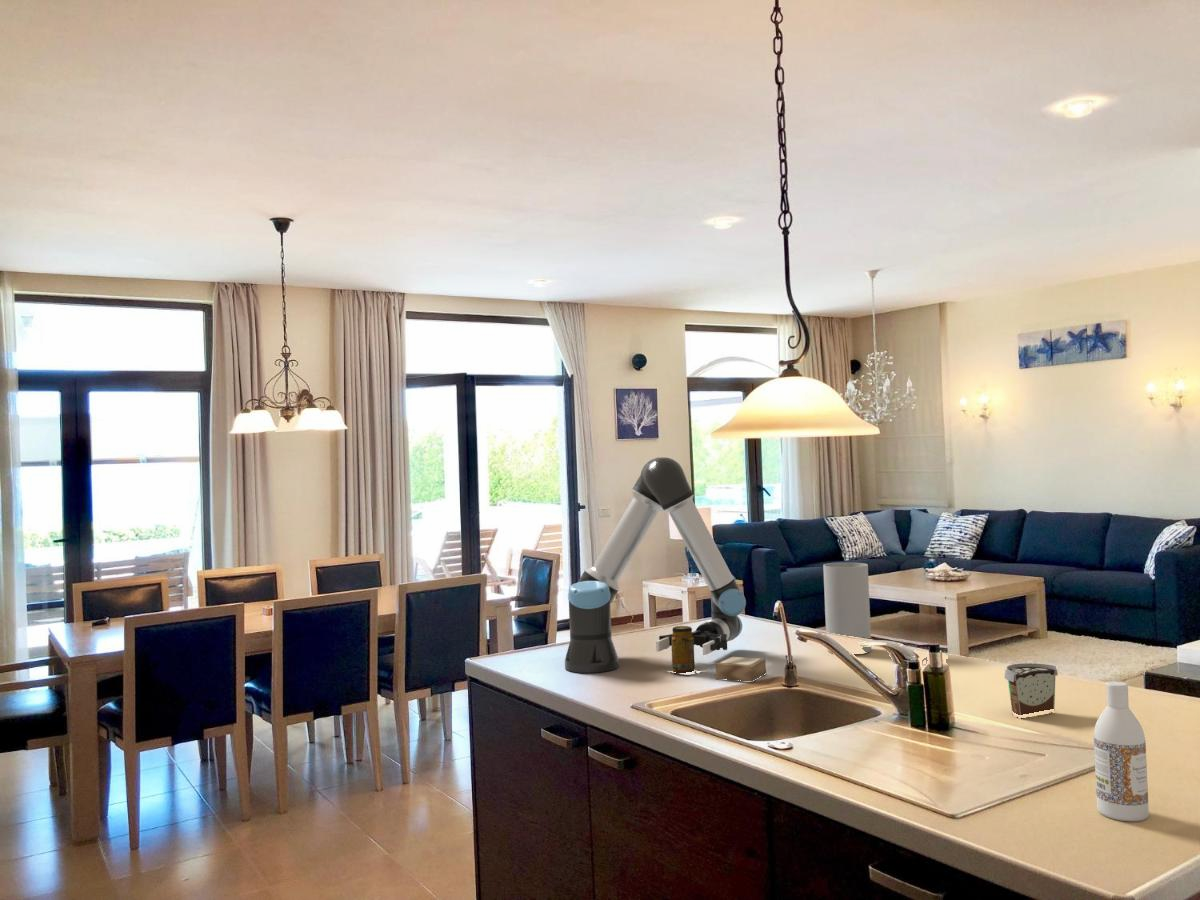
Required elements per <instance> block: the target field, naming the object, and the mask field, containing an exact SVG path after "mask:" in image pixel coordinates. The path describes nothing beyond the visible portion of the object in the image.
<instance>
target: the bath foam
mask: <svg viewBox="0 0 1200 900" xmlns="http://www.w3.org/2000/svg"><path fill="white" fill-rule="evenodd" d="M1105 687H1106V690H1105V691H1106V704H1107V705H1106V707H1105V708H1104V709H1103V711H1102V712H1101V714H1100V715H1099V717H1098V718H1097V721H1096V723H1095V726H1094V730H1093V745H1094V746H1093V748H1094V750H1093V751H1094V752H1093V753H1094V769H1095V771H1094V772H1095V773H1094V774H1095V788H1096V789H1095V790H1096V791H1095V792H1096V795H1095V796H1096V806H1097V807H1096V808H1097V811H1098V812H1099V813H1100V814H1101V815H1103V816H1105V817H1107V818H1109V819H1113V820H1116V821H1123V822H1141V821H1144V820H1146V819H1147V818H1148V817H1149V813H1150V812H1149V811H1150V808H1149V789H1148V788H1149V787H1148V786H1149V785H1148V765H1147V764H1148V763H1147V748H1146V747H1147V745H1146V744H1147V742H1146V736H1145V731H1144V729H1143V727H1142V725H1141V723H1140V721H1139V720H1138V719H1137V717H1136V716H1135V714H1134V713H1133V711H1132V710H1131V709H1130V706H1129V704H1130V703H1129V685H1128V684H1127V683H1126V682H1123V681H1117V680H1116V681H1115V680H1114V681H1107V682H1106V683H1105Z"/></svg>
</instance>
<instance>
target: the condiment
mask: <svg viewBox="0 0 1200 900" xmlns="http://www.w3.org/2000/svg"><path fill="white" fill-rule="evenodd" d="M692 630H693V628H692V627H691V626H689V625H679V626H678V625H677V626H674V627H672V633H671V634H672V635H673V637H672V639H671V645H672V646H671V668H672V670H673V672H676V673H686V672H692V671H694V670H695V668H696V666H695V664H696V663H695V645H694V639H693V637H692V632H693V631H692ZM668 671H669V670H665V672H666V673H669V672H668Z"/></svg>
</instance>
